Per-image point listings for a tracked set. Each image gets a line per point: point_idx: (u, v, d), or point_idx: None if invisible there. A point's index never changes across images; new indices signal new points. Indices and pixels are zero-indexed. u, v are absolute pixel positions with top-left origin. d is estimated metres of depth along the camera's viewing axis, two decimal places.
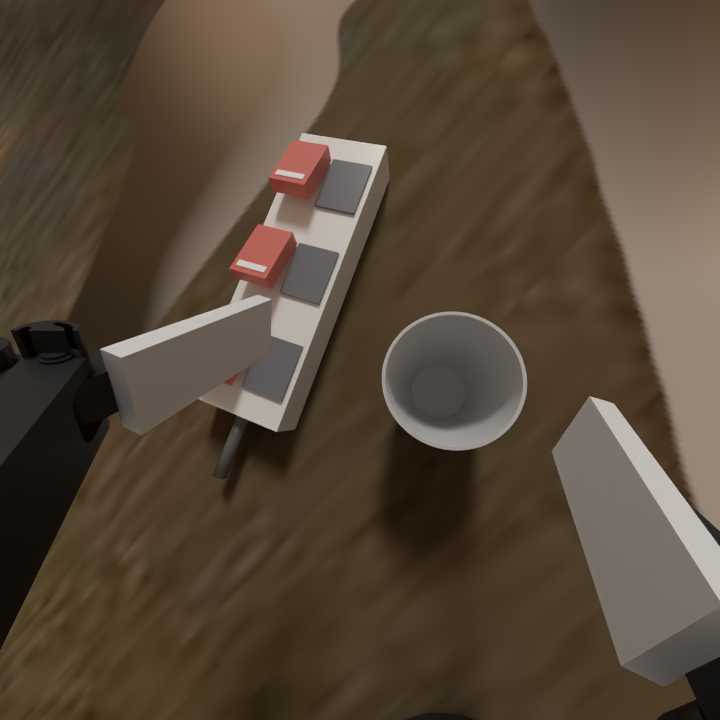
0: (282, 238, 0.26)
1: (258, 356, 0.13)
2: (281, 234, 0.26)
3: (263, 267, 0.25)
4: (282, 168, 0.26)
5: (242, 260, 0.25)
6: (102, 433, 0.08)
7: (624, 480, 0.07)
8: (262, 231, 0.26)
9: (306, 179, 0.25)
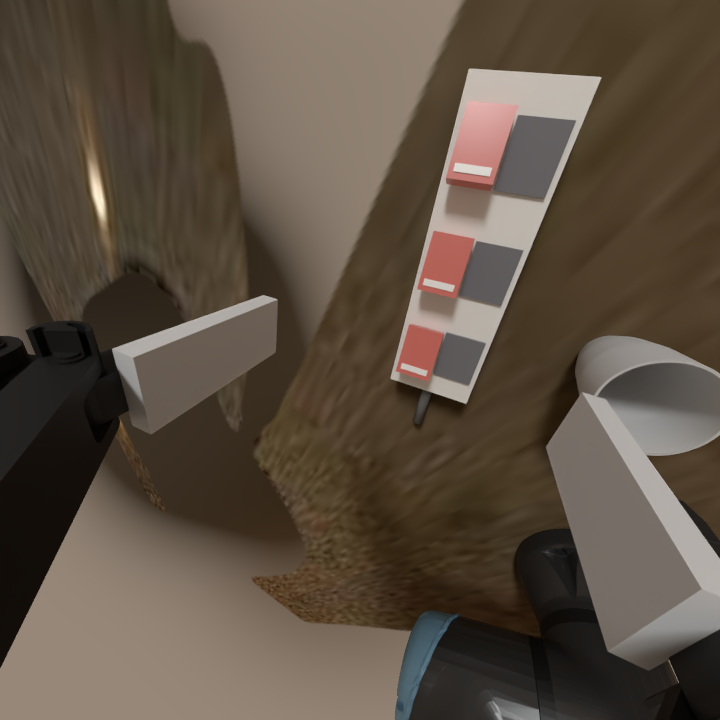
0: (464, 248, 0.26)
1: (263, 356, 0.14)
2: (462, 242, 0.26)
3: (451, 286, 0.26)
4: (460, 160, 0.23)
5: (428, 279, 0.27)
6: (112, 432, 0.08)
7: (613, 473, 0.08)
8: (440, 240, 0.26)
9: (494, 175, 0.22)
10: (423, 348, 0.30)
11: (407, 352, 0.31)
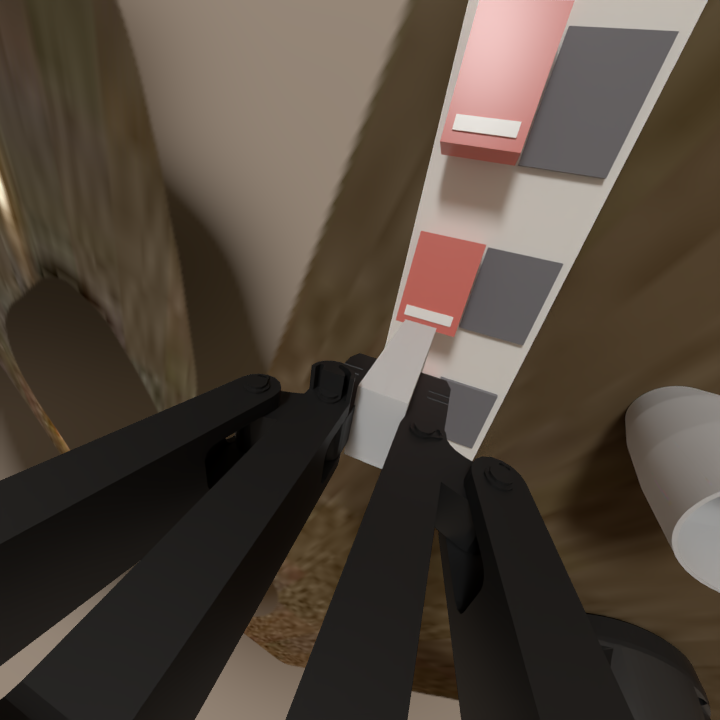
0: (469, 259, 0.16)
1: None
2: (465, 249, 0.16)
3: (448, 318, 0.17)
4: (465, 109, 0.13)
5: (412, 306, 0.17)
6: (332, 471, 0.08)
7: None
8: (431, 246, 0.16)
9: (524, 136, 0.13)
10: None
11: None
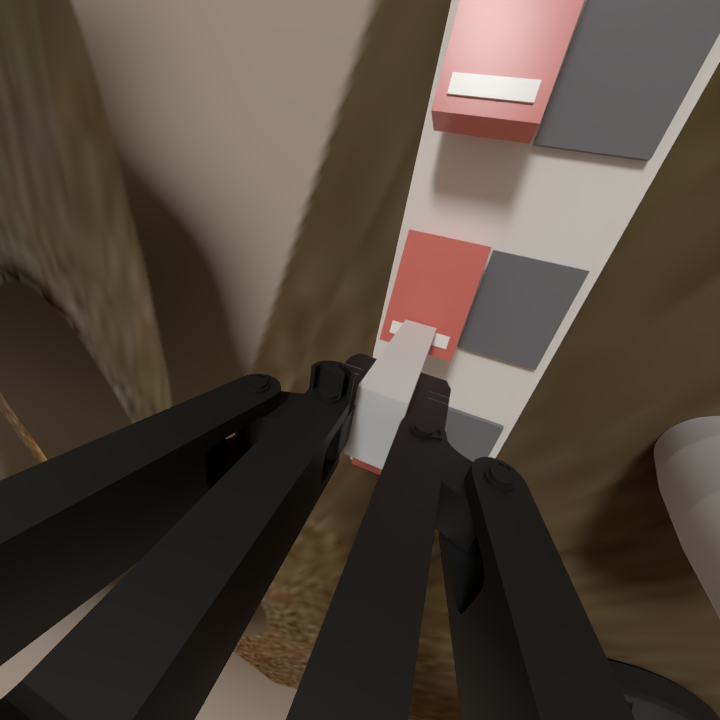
0: (470, 265, 0.13)
1: None
2: (465, 253, 0.13)
3: (443, 338, 0.14)
4: (465, 65, 0.10)
5: (399, 323, 0.14)
6: (332, 471, 0.08)
7: None
8: (422, 249, 0.13)
9: (544, 99, 0.09)
10: None
11: None
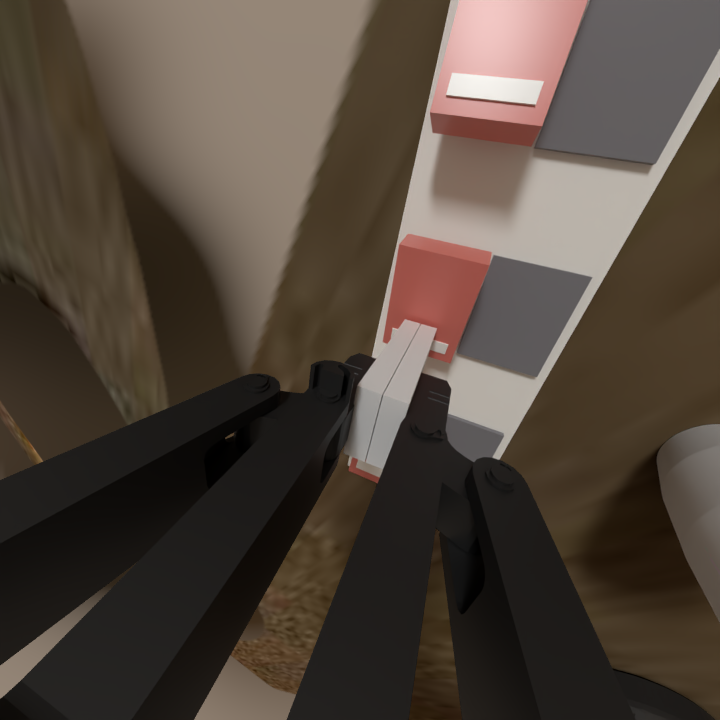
0: (466, 282, 0.12)
1: None
2: (461, 270, 0.12)
3: (442, 345, 0.14)
4: (465, 65, 0.09)
5: None
6: (331, 471, 0.08)
7: None
8: (415, 264, 0.12)
9: (547, 102, 0.09)
10: None
11: None
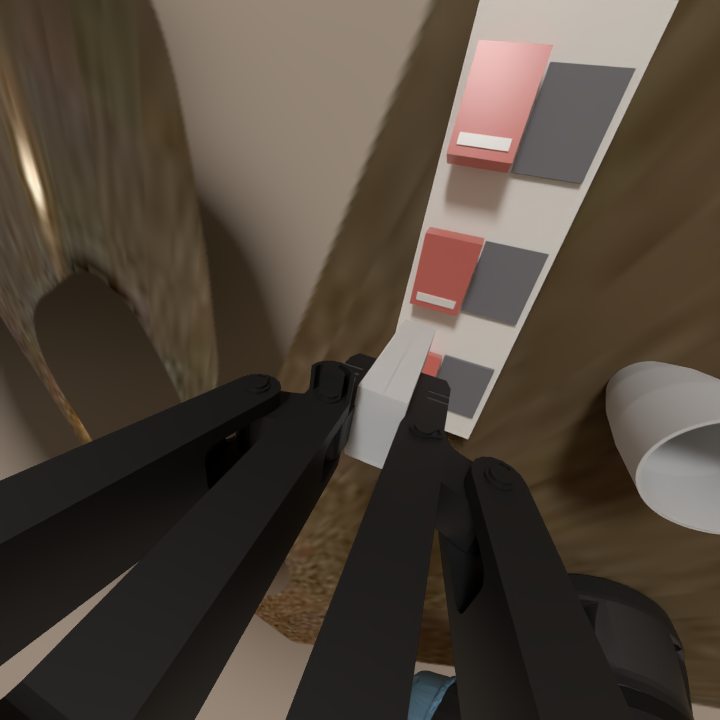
0: (468, 257, 0.19)
1: None
2: (465, 249, 0.18)
3: (451, 302, 0.21)
4: (467, 128, 0.16)
5: (422, 293, 0.21)
6: (332, 471, 0.08)
7: None
8: (435, 246, 0.19)
9: (514, 150, 0.16)
10: None
11: None
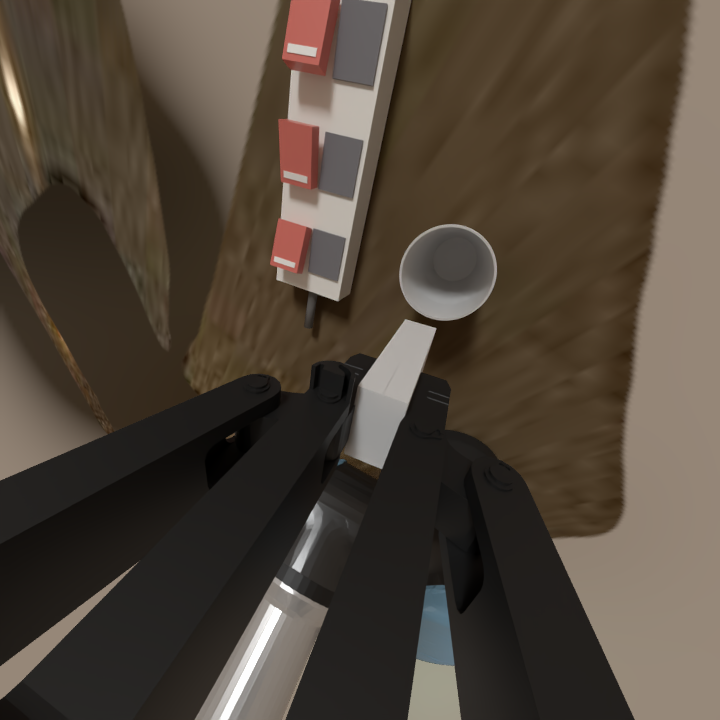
0: (306, 137, 0.28)
1: None
2: (303, 131, 0.28)
3: (305, 177, 0.30)
4: (292, 40, 0.25)
5: (286, 172, 0.30)
6: (332, 471, 0.08)
7: None
8: (286, 130, 0.28)
9: (319, 56, 0.25)
10: (291, 241, 0.33)
11: (278, 245, 0.34)
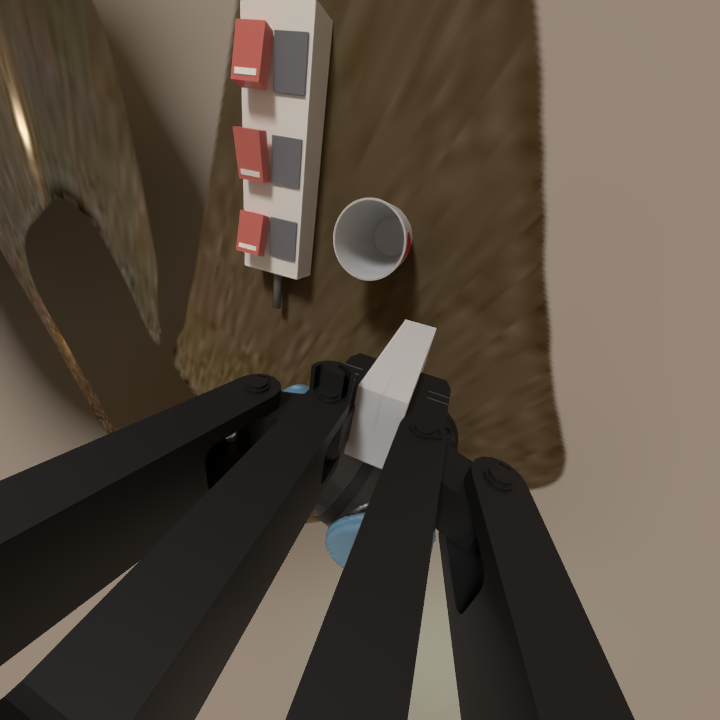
0: (255, 139, 0.34)
1: None
2: (252, 134, 0.34)
3: (257, 173, 0.36)
4: (237, 64, 0.32)
5: (242, 169, 0.37)
6: (332, 471, 0.08)
7: None
8: (239, 134, 0.34)
9: (258, 74, 0.31)
10: (251, 228, 0.39)
11: (241, 233, 0.40)
